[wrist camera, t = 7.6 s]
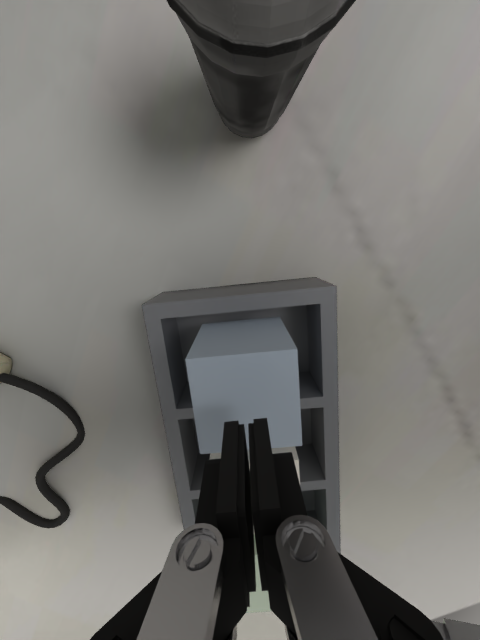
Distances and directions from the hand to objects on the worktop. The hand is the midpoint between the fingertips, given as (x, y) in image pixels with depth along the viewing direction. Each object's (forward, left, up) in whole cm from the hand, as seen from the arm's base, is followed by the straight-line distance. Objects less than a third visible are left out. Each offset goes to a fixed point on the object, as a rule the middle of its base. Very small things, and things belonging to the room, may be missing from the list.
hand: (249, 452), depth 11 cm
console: (0, +6, -13) cm, 14 cm away
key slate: (0, -1, -8) cm, 9 cm away
